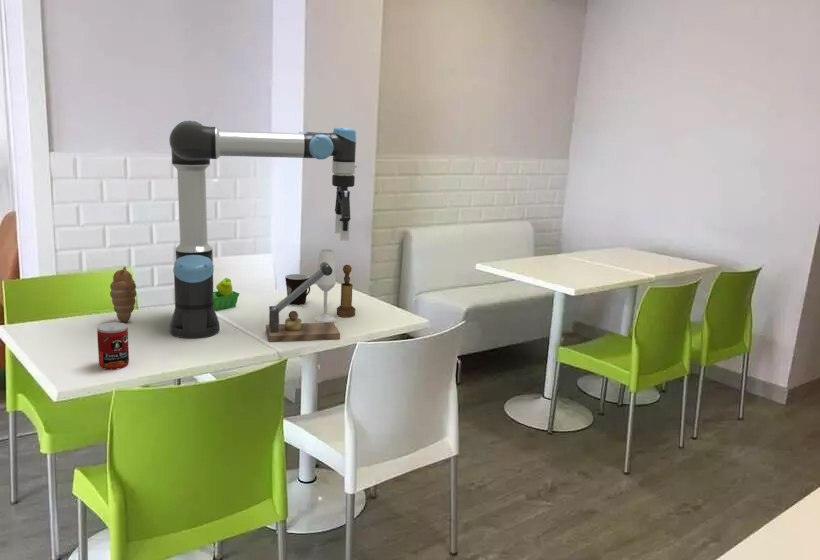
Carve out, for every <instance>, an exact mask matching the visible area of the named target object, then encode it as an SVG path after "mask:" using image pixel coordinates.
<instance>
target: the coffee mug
mask: <svg viewBox="0 0 820 560" xmlns="http://www.w3.org/2000/svg"><path fill="white" fill-rule="evenodd" d="M309 278H310V276H309V275H308V274H307V275H306V274H301V273H292V274H291V273H290V274H287V275H285V278H284V279H285V286H286V295H287V296H288V295H289V294H290V293H292V292H293V291H294V290H295V289H297V288H298V287H299V286H300V285H301V284H303V283H304V282H305V281H306V280H307V279H309ZM310 292H311V286H310V287H309V288H308V289H307V290H305V291H304V292H303V293H302V294H301V295H299V296H298V297H297V298H296V299H295V300H293V301H292V302H291V303H290V304H289V305H292V306H303V305H305V304H306V303H307V302H306V301H307V296H308V295H309V294H310ZM287 296H286V297H287Z"/></svg>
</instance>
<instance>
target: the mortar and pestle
mask: <svg viewBox="0 0 820 560" xmlns="http://www.w3.org/2000/svg"><path fill="white" fill-rule="evenodd" d="M352 270H353V269H352V266H351V265H349V264H344V265H343V267H342V271H343V273H344V276H343V282H342V283H341V287H340V290H341V291H340V305H339V306H337V308H336V316H338V317H341V318H353V317H355V316H356V308H355V307H354V306H353V283H350V281H351V277H350V273H351V272H352Z"/></svg>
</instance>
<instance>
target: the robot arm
mask: <svg viewBox="0 0 820 560" xmlns="http://www.w3.org/2000/svg"><path fill="white" fill-rule="evenodd" d="M168 140H169V146H170V148H171V165H172V166H173V167H174V168H175V169H176V170H177V171H176V172H177V173H176V174H177V175H176V176H177V195H178V198H177V199H178V221H179V244H178V245H177V246H176V247H175V261H174V262H173V268H172V269H173V279H174V280H173V283H174V311H173V314H172V317H171V319H170V323H169V333H170V334H171V335H172V336H174V337H177V338H183V339H200V338H208V337H210V336H211V337H212V336H214V335H216V334H218V333H219V332H220V330H221V329H220V321H219V318H218V316H217V313H216V311H215V310H214V305H213V292H214V269H215V268H214V267H215V265H214V263H213V262H214V261H213V260H214V258H213V256H214V253H213V247H212V246H211V245H210V244H209V242H208V221H207V220H208V217H207V212H208V211H207V188H206V187H207V186H206V185H207V184H206V183H207V181H206V177H207V176H206V171H207V169H208V167H210V166H211V160H217V159H219V158H220V157H248V158H249V157H251V158H252V157H253V158H255V157H256V158H291V159H292V158H294V159H295V158H296V159H299V158H300V159H317V160H326V159H327V158H329V157H332V163H331V164H332V168H331V169H332V171H331V172H332V173H333V174H332V176H331V182H332V183H331V185H332V186H333V187H336V196H335V205H334V206H335V207H334V212H335V220H334V221H335V225H334V226H335V227H334V228H335V229H334V230H335V231H334V233H335V234H339V236H340V238H339V240H340V241H349V240H350V220H351V206H350V205H351V204H350V203H351V201H350V200H351V199H350V195H351V191H350V190H349V189H348V188H353V187H355V183H356V182H355V180H356V177H355V175H354V174H355V172H356V171H355V170H356V169H355V168H357V167H358V166H357V164H356V152H357V151H356V148H357V131H356V129H354V128H353V127H339V126H338V127H334V128H333V131H332V132H313V131H300V132H298V133H296V132H295V133H294V132H272V131H271V132H270V131H264V132H263V131H245V130H244V131H243V130H220V129H219V128H218V127H217V126H206V125H203V124H201V122H197V121H195V120H184V121H180V122H178V123H177V124H176V125H175V127H173V129H172V130H171V132H170V135H169V139H168Z"/></svg>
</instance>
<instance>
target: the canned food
mask: <svg viewBox="0 0 820 560" xmlns="http://www.w3.org/2000/svg"><path fill="white" fill-rule="evenodd" d="M96 329H97V330H96V334H97V336H96V337H97V349H98V351H97V352H98V365H99V367H100V368H101V367H102V368H101V369H103V368H105V369H104V370H111V369H112V370H118V369H117V368H120V369H123V368H125V367H127V366H128V365H129V362H130V354H129V353H130V352H129V349H130V348H129V330H128V329H129V328H128V325H127V324H126V323H125V322H118V321H117V322H116V321H115V322H104V323H101V324H99V325H98V326H96Z"/></svg>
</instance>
